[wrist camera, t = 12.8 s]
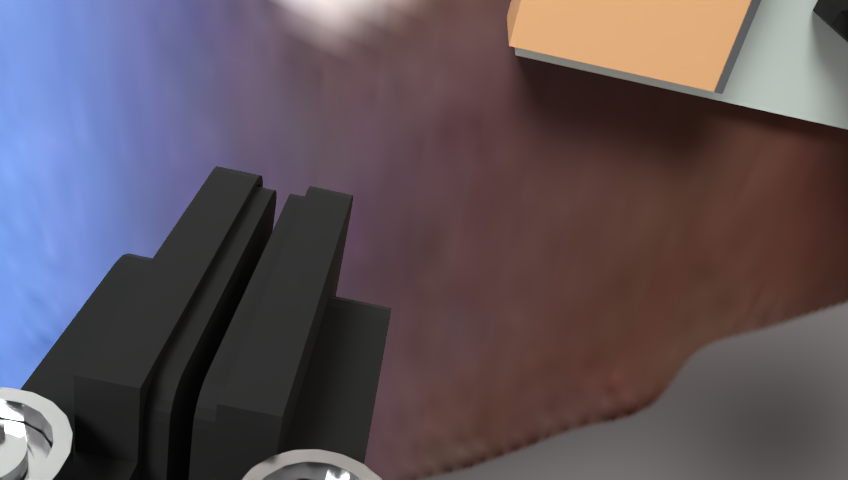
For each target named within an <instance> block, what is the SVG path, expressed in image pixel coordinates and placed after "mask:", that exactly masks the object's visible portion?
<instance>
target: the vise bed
mask: <svg viewBox="0 0 848 480" xmlns="http://www.w3.org/2000/svg"><path fill="white" fill-rule="evenodd" d="M817 1H818V0H761V2H760V5H759V7H758V9H757V12H756V14H755V17H754V19H753V21H752V24H751V26H750V29H749V31H748V34H747V36H746V38H745V41H744V43H743V46H742V48H741V50H740V53H739V55H738V58H737V60H736V62H735V65H734V67H733V70H732V72H731V75H730V77H729V79H728V82H727V84H726V87H725V89H724V91H723V94H719V93H714V92H713V91H708V90H704V89H699V88H695V87H690V86H686V85H681V84H677V83H672V82H668V81H664V80H659V79H655V78H650V77H646V76H641V75H637V74H632V73H628V72H623V71H619V70H614V69H610V68H606V67H601V66H597V65H592V64H588V63H583V62H579V61H574V60H570V59H565V58H561V57H556V56H552V55H548V54H543V53H539V52H534V51H530V50H525V49H521V48H516V47H515V55H517V56H521V57H526V58H530V59H535V60H539V61H544V62H548V63H553V64H557V65H562V66H566V67H571V68H575V69H579V70H584V71H588V72H593V73H597V74H602V75H606V76H611V77H615V78H620V79H624V80H629V81H633V82H638V83H642V84H647V85H651V86H655V87H660V88H664V89H669V90H673V91H678V92H682V93H687V94H691V95H696V96H700V97H705V98H709V99H714V100H718V101H723V102H727V103H732V104H736V105H740V106H745V107H749V108H754V109H758V110H763V111H767V112H772V113H776V114H781V115H785V116H790V117H794V118H799V119H803V120H808V121H812V122H816V123H821V124H825V125H830V126H834V127H839V128H843V129H848V42H847V41H846V40H844V39H843V38H842V37H841V36H840V35H839V34H838V33H837V32H836V31H834V30H833V29H832V28H831V27H830V26H829V25H828V24H827V23H826V22H825V21H823V20H822V19H821V18H820V17H819V16H818V15H817V14H816V13H815V12H814V11H813V9H814V7H815V5H816V3H817Z"/></svg>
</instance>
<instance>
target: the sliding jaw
mask: <svg viewBox="0 0 848 480" xmlns="http://www.w3.org/2000/svg"><path fill="white" fill-rule="evenodd" d="M760 2H761V0H511V3H510V7H509V11H508V14H507V24H508V38H509V46H512V47H516V48H521V49H525V50H530V51H534V52H539V53H543V54H548V55H552V56H556V57H561V58H565V59H570V60H574V61H579V62H583V63H588V64H592V65H597V66H601V67H606V68H610V69H614V70H619V71H623V72H628V73H632V74H637V75H641V76H646V77H650V78H655V79H659V80H664V81H668V82H672V83H677V84H681V85H686V86H690V87H695V88H699V89H704V90H708V91H713V92H714V93H719V94H723V91H724V89H725V87H726V84H727V82H728V79H729V77H730V75H731V72H732V70H733V67H734V65H735V62H736V60H737V58H738V55H739V53H740V50H741V48H742V46H743V43H744V41H745V38H746V36H747V34H748V31H749V29H750V26H751V24H752V21H753V19H754V17H755V14H756V12H757V9H758V7H759V5H760Z"/></svg>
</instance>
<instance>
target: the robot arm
mask: <svg viewBox="0 0 848 480" xmlns="http://www.w3.org/2000/svg"><path fill="white" fill-rule="evenodd" d="M352 201H353V195H349V194H345V193H340V192H335V191H331V190H326V189H321V188H316V187H312V186H310V187H309V189H308V191H307V193H306V195H305V197H304V196H299V195H294V194H290V195H289V197H288V199H287V201H286V204H285V206H284V208H283V210H282V212H281V214H280V217H279V219H278V221H277V223H276V225H275V227H274V230H273V223H274V215H275V207H276V190H271V189H266V188H263V180H262V176H260V175H256V174H251V173H246V172H242V171H237V170H232V169H227V168H223V167H217V166H216V167H215V168H214V169H213V171H212V172H211V174H210V175H209V177H208V178H207V180H206V181H205V183H204V184H203V186H202V187H201V189H200V190H199V192H198V193H197V194H196V196H195V197H194V199H193V200H192V202H191V203H190V205H189V206H188V208H187V209H186V211H185V212H184V214H183V215H182V216H181V218H180V219H179V221H178V222H177V224H176V225H175V227H174V228H173V230H172V231H171V233H170V234H169V236H168V237H167V239H166V240H165V241H164V243H163V244H162V246H161V247H160V249H159V250H158V252H157V253H156V255H155V256H154V258H153V259H152V258H147V257H142V256H138V255H133V254H125V255H123V256H122V257H121V258H120V259H119V260H118V261H117V262H116V263H115V264H114V265H113V267H112V268H111V269H110V271H109V272H108V273H107V275H106V276H105V277H104V279H103V280H102V281H101V283H100V284H99V285H98V287H97V288H96V289H95V291H94V292H93V293H92V295H91V296H90V298H89V299H88V300H87V302H86V303H85V304H84V306H83V307H82V308H81V310H80V311H79V312H78V314H77V315H76V316H75V318H74V319H73V320H72V322H71V323H70V324H69V326H68V327H67V328H66V330H65V331H64V332H63V334H62V335H61V336H60V338H59V339H58V340H57V342H56V343H55V344H54V346H53V347H52V348H51V350H50V351H49V352H48V354H47V355H46V356H45V358H44V359H43V360H42V362H41V363H40V364H39V366H38V367H37V368H36V370H35V371H34V372H33V374H32V375H31V376H30V378H29V379H28V380H27V382H26V383H25V384H24V386H23V387H22V388H21V390H18V389H13V388H0V480H382V479H381V478H379V477H378V476H377V475H376V474H375V473H373V472H372V471H371V470H370V469H369V468H368V467H366V466H365V465H364V460H365V455H366V449H367V443H368V438H369V432H370V426H371V421H372V415H373V409H374V404H375V398H376V392H377V387H378V381H379V376H380V370H381V364H382V359H383V353H384V347H385V342H386V336H387V330H388V325H389V319H390V313H391V308H388V307H383V306H378V305H374V304H369V303H364V302H359V301H354V300H350V299H345V298H340V297H336V291H337V286H338V280H339V275H340V269H341V263H342V258H343V252H344V247H345V241H346V236H347V230H348V225H349V219H350V214H351V208H352ZM272 231H273V232H272Z"/></svg>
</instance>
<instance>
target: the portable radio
mask: <svg viewBox="0 0 848 480" xmlns="http://www.w3.org/2000/svg"><path fill="white" fill-rule="evenodd" d="M813 11H814V12H815V13H816V14H817V15H818V16H819V17H820V18H821V19H822V20H823V21H825V22H826V23H827V24H828V25H829V26H830V27H831V28H832V29H833V30H834V31H836V32H837V33H838V34H839V35H840V36H841V37H842V38H843V39H844V40H846V41H847V42H848V0H818V1H817V3H816V5H815V7H814V9H813Z"/></svg>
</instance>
